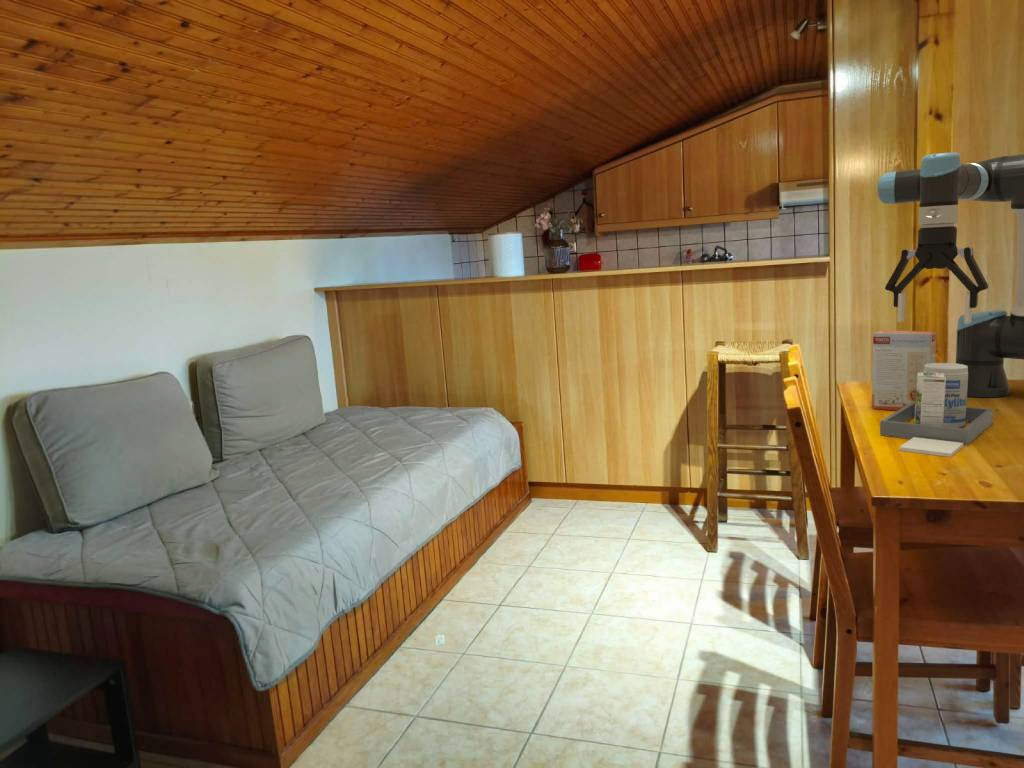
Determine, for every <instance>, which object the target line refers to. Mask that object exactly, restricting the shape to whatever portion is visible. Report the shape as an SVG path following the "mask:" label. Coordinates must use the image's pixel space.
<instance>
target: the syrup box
mask: <svg viewBox="0 0 1024 768" xmlns="http://www.w3.org/2000/svg"><path fill="white" fill-rule="evenodd" d="M945 387H946V376H945V374H944V373H936V372H920V373H918V374H917V388H916V401H915V417H914V422H913V423H915V424H924V425H934V426H943V421H944V404H945Z"/></svg>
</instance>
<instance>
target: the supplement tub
mask: <svg viewBox="0 0 1024 768" xmlns="http://www.w3.org/2000/svg"><path fill="white" fill-rule="evenodd" d="M923 372H936V373H944V374H945V376H946V387H945V404H944V421H943V427H952V428H963V427H965V425H966V422H965V420H966V407H967V400H968V396H967V386H968V366H966V365H962V364H956V362H955V363H953V362H951V363H950V362H935V363H930V364H925V365H924V370H923Z"/></svg>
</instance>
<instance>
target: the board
mask: <svg viewBox="0 0 1024 768" xmlns="http://www.w3.org/2000/svg"><path fill="white" fill-rule="evenodd" d="M963 447H964V445H963V443H960V442H951V441H943V440H934V439H926V438H917V437H913V438H912V439H909V440H907V441H906V442H905V443H903V444H901V445H900V446H899V451H901V452H909V453H914V454H916V453H917V454H921V455H922V454H923V455H931V456H937V457H938V456H939V457H946V458H952V457H953V456H954V455H955V454H956V453H957V452H959V451H960V450H961V449H962V448H963Z"/></svg>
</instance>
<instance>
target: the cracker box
mask: <svg viewBox="0 0 1024 768" xmlns="http://www.w3.org/2000/svg"><path fill="white" fill-rule="evenodd" d="M872 337H873V338H872V341H873V343H872V372H871V373H872V374H871V375H872V376H871V377H872V378H871V409H872V408H873V410H882V411H883V410H884V411H886V410H887V411H894V412H896V411H898V410H900V409H901V408H903V407H905V406H906V405H908V404H910V403H911V402H915V401H916V388H917V374H918V373H920V372H923V370H924V365H925V364H930V363H936V353H937V352H936V351H937V350H936V347H937V345H936V344H937V343H936V342H937V332H936V331H923V330H921V331H919V330H878V331H876V332H873V335H872Z"/></svg>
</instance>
